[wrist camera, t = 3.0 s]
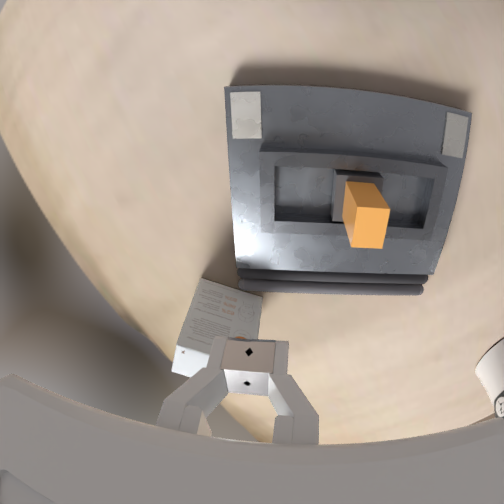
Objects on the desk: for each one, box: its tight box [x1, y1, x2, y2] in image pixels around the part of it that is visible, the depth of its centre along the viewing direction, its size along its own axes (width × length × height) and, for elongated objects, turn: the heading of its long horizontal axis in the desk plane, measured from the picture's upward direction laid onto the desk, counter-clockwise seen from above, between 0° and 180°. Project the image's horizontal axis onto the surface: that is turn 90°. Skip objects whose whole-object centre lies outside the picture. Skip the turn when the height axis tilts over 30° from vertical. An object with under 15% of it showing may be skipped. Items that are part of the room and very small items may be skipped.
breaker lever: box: [330, 169, 390, 249], centre depth 22 cm, size 4×4×6 cm
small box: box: [172, 278, 263, 377], centre depth 33 cm, size 8×6×10 cm
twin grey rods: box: [237, 268, 428, 295], centre depth 33 cm, size 22×3×1 cm, turn 93°
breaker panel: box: [224, 85, 472, 275], centre depth 25 cm, size 22×18×4 cm
